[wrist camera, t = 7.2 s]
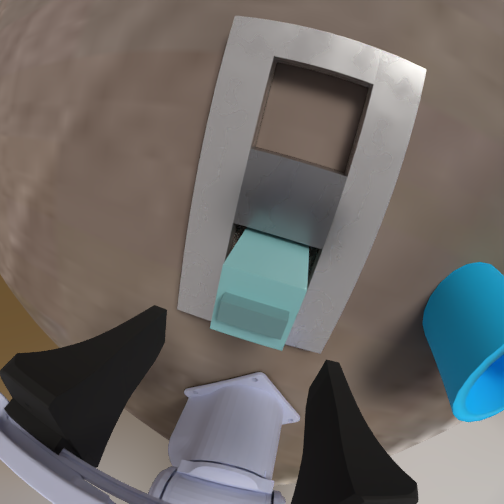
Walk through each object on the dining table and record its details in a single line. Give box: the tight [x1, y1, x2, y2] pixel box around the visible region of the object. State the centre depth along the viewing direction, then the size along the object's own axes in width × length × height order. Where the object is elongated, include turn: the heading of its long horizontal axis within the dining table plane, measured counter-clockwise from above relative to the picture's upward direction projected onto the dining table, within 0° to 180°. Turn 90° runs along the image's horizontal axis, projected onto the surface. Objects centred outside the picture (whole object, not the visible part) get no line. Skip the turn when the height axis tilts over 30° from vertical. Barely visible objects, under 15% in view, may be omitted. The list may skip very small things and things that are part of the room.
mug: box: [423, 262, 504, 422], centre depth 15 cm, size 12×8×8 cm
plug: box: [210, 227, 309, 351], centre depth 16 cm, size 4×4×7 cm
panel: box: [177, 16, 426, 354], centre depth 17 cm, size 20×11×2 cm, turn 167°
